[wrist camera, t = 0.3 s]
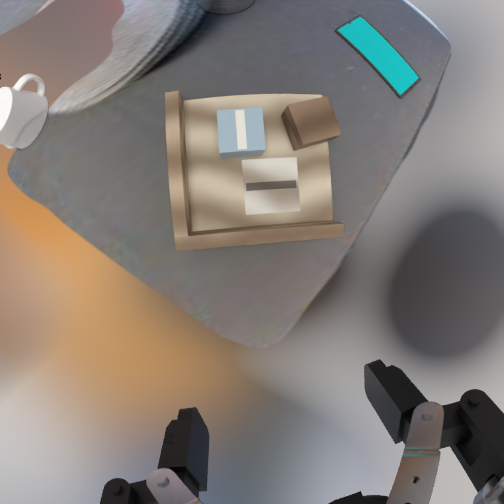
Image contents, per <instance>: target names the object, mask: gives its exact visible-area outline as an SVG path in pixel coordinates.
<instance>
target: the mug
mask: <svg viewBox="0 0 504 504" xmlns="http://www.w3.org/2000/svg"><path fill="white" fill-rule="evenodd" d="M29 80H35V81H36V82H37V84H38V90H37V92H36V93H35V92H30V91H25V90H21V88H22V87H23V86H24V85H25V83H26V82H28V81H29ZM44 93H45V84H44V82H43V80H42V79H41V78H40V77H38V76H36V75H34V74H26V75H24V76H22V77H21V78H20V79H19V80H18V82H17V83H16V84H15V86H14V87H13V88H10V87H2V88H0V144H2V145H5V147H8V148H10V149H15V147H17V148H20V149H23V148H26V147H28V146H29V145H30V144H31V143H32V142H33V141H34V140H35V139H36V137H37V136H38V135H39V133H40V131H41V129H42V127H43V125H44V123H45V120H46V117H47V112H48V101H47V97H46V96H45V95H44Z"/></svg>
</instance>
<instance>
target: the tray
mask: <svg viewBox="0 0 504 504" xmlns="http://www.w3.org/2000/svg"><path fill="white" fill-rule="evenodd" d="M320 97H322V95H311V94H255V95H236V96H222V97H212V98H202V99H194V100H186V101H183V99H182V97H181V95H180V93H179V91H173V92H167V93H165V118H166V143H167V161H168V176H169V189H170V200H171V211H172V220H173V229H174V238H175V246H176V251H185V250H196V249H207V248H218V247H229V246H241V245H252V244H264V243H276V242H287V241H299V240H311V239H324V238H336V237H344V223H340V222H337V221H333V210H332V191H331V175H330V162H329V151H328V142H324V143H320V144H317V145H313V146H310V147H306V148H302V149H299V150H296V151H293V148H292V145H291V142H290V140H289V137H288V134H287V132H286V129H285V126H284V124H283V121H282V119H281V115H282V113H283V111H284V110H285V108H286V107H287V105H289V104H293V103H297V102H301V101H306V100H310V99H315V98H320ZM259 107H262V112H263V123H264V135H265V147H266V150H265V151H264V153H263V154H262V155H261V156H249V157H235V158H223V159H221V156H220V152H219V138H218V123H217V110H226V109H240V108H259Z"/></svg>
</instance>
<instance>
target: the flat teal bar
mask: <svg viewBox="0 0 504 504" xmlns="http://www.w3.org/2000/svg"><path fill="white" fill-rule="evenodd" d="M335 32H336V33H337V34H338V35H339V36H341V37H342V38H343V39H344V40H345V41H346V42H347V43H348V44H349V45H350V46H351V47H352V48H353V49H355V50H356V51H357V52H358V53H359V54H360V55H361V56H362V57H363V58H364V59H365V60H366V61H367V62H368V64H369V65H370V66H371V67H372V68H373V69H374V70H375V71H376V72H377V73H378V74H379V75H380V76H381V77H382V79H383V80H384V81H385V82H386V83H387V84H388V85H389V87H390V88H391V89H392V90H393V91H394V92H395V94H396V95H397V96H398V97H399V98H403V97H404V96H405V95H406V94H407V93H408V92H409V91H410V90H411V89H412V88H413V87H414V86H415V85H416V84H417V83H418V82H419V81H420V80H421V78H420V77H419V76H418V74H417V73H416V72H415V71H414V69H413V68H412V67H411V66H410V65H409V64H408V62H407V61H406V60H405V59H404V58H403V57H402V56H401V55H400V53H399V52H398V51H397V50H396V49H395V48H394V47H393V46H392V45H391V44H390V43H389V42H388V41H387V40H386V39H385V38H384V37H383V36H382V35H381V34H380V33H379V32H378V31H377V30H376V29H375V28H374V27H373V26H372V25H371V24H370V23H369V22H368V21H367V20H365V19H364V18H363V17H362V16H360V15H359V16H357V17H356V18H354V19H352V20H350V21H348V22H347V23H345V24H343V25H342V26H340V27H338V28H337V29H336V30H335Z"/></svg>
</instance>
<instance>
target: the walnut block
mask: <svg viewBox="0 0 504 504" xmlns="http://www.w3.org/2000/svg"><path fill="white" fill-rule="evenodd" d="M281 119H282V121H283V124H284V126H285V129H286V132H287V134H288V137H289V140H290V142H291V145H292V148H293V151H296V150H299V149H302V148H306V147H310V146H313V145H317V144H320V143H324V142H328V141H330V140H332V139H334V138H336V137H338V136H340V135H342V133H341V131H340V128H339V125H338V123H337V120H336V117H335V115H334V112H333V110H332V107H331V105H330V102H329V100H328V97H327V96H325V97H320V98H315V99H310V100H306V101H301V102H297V103H293V104H289V105H287V107H286V108H285V110H284V111H283V113H282V115H281Z"/></svg>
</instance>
